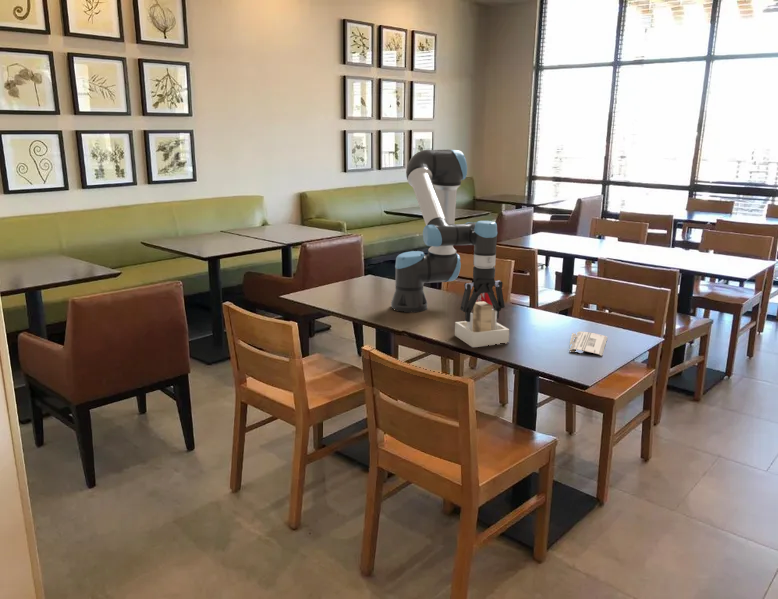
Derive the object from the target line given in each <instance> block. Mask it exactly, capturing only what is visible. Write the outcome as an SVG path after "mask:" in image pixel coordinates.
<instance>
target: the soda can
mask: <svg viewBox="0 0 778 599" xmlns="http://www.w3.org/2000/svg"><path fill="white" fill-rule="evenodd" d="M482 301H484V302H486V303H488V304H490V305H492V303H491V300H490V298H489V296H488V293H481V294H480V296H478V298H477V300H476V302H482ZM492 309H494V307H493V305H492Z"/></svg>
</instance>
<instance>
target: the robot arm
mask: <svg viewBox="0 0 778 599" xmlns="http://www.w3.org/2000/svg"><path fill="white" fill-rule="evenodd" d="M405 170H406V171H405V177H406V180H407V183H408V185H409V186H411V187H412V188H413V192H414V195H415V198H416V200H417V204H418V207H419V209H420V212H421V215H422V217H423V220H424V224H425V226H424V227H423V230H422V238H423V243H424V244H425V246H427V247H429V248H428V251H427V254H425V253H424V251H420V250H417V251H416V250H415V251H414V250H411V251H405V252H402V253H400V254H398V255H397V256H396V257H395V265H394V268H395V287H394V288H395V290H394V293H393V296H392V300H391V302H390V308H391V307H392V308H393V309H395V310H398V311H397V312H399V311H404V312H403V313H420V312H423V311H426V310H427V309H428V301H427V297H426V293H425V291H424V284H428V283H447V282H454V281H455V280H457V278H458V276H459V274H460V272H461V265H462V263H461V256H460V254H458V253H457V249H455V248H454V246H473V268H472V281H471V282H469V283H468V282H465V283H464V285H463V286H464V291H463V295H462V300H461V304H460V308H459V310H460V311H462V312H463V313H465V314H464V316H465V318H464V321H467V328H468V329H470V330H471V331H472V326H473V308H474V305H475V303H476V300H477V298H478V296H480V294H481V293H488V296H489V298H490V300H491V303H492V305H493V309H492V317H491V327H492V328H494V329H496V325H497V323H498V322H497V321H498V319H500V318H499V317H500V311H501V310H502V309H504V308H505V301H504V293H503V289H502V288H503V284H504V283H503V281H501V280H499V279H497V280H495V277H496V267H495V266H496V261H497V260H496V256H497V241H498V240H497V238H498V225H497V222H496V221H493V220H492V221H491V220H478V221H476V222H474V221H471V222H470V221H468V222H465V223H456V221H455V220H456V219H455V218H456V205H457V204H456V203H457V191H458V188H460V187H461V185H462V181H464V180H465V179H466V178H467V176H468V164H467V159H466V157H465V154H464V153H463V151H461V150H458V149H423V150H420V151H417V152H415V154H414V155H413V156H412V157H411V158H410V159H409V161H408V163H407V166H406V168H405ZM494 287H495V292H494V289H493V288H494ZM472 289H473V291H472ZM471 293H472V294H471ZM495 293H496V294H495ZM392 308H391V309H392ZM393 309H392V310H393ZM395 310H394V311H395ZM419 311H420V312H419Z"/></svg>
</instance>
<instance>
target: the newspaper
mask: <svg viewBox="0 0 778 599" xmlns="http://www.w3.org/2000/svg"><path fill="white" fill-rule="evenodd" d="M576 334H577V335H576ZM574 338H575V339H574ZM608 338H609V337H608V336H606V335H603V334H600V333H594V332H589V331H588V332H587V331H577V332H576V333H575V332H571V337H570V339H569V340H570V341H569V345H571V344H572V346H571V348H570V349H569V353H571V352H575V351H576V349H577V350H582V351H584V352H587V353H590V354H591V353H593V354H596V355H598V356H600V357H603V356H604V352H605V349H606V345H607V342H606V341H608ZM573 340H574V341H573ZM604 348H605V349H604ZM570 351H571V352H570ZM602 355H603V356H602Z"/></svg>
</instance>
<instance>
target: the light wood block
mask: <svg viewBox="0 0 778 599" xmlns="http://www.w3.org/2000/svg"><path fill="white" fill-rule="evenodd" d="M472 313H473V332H482V331H491V317H492V305H490V304H488V303H486V302H484V301H482V302H476V303H475V305H474V307H473V309H472Z"/></svg>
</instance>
